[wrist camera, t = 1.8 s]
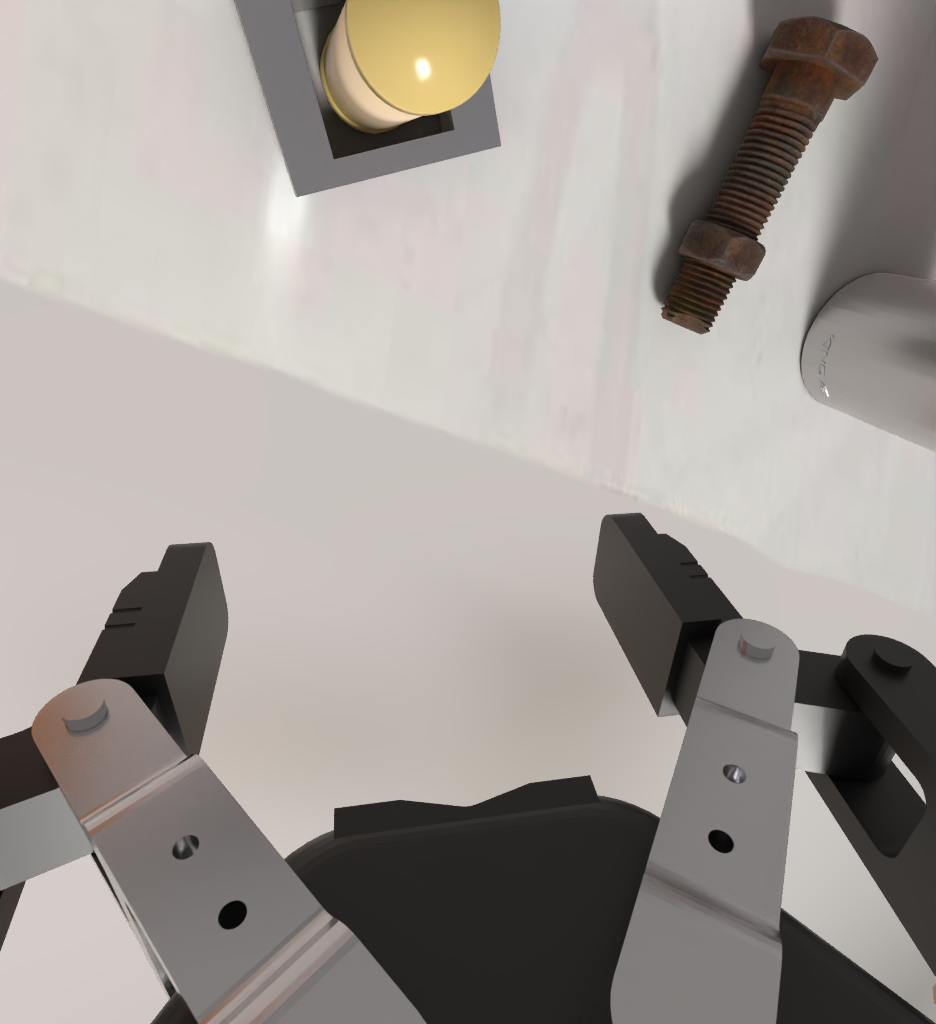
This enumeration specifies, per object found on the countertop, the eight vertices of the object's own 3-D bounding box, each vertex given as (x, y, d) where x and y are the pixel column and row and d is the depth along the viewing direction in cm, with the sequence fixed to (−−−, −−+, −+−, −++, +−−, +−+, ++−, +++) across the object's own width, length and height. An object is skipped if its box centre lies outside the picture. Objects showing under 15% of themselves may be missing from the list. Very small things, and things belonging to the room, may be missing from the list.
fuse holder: (452, -54, 29) (466, -72, 26) (486, 147, 33) (500, 145, 31) (231, -8, 27) (227, -23, 25) (295, 195, 31) (296, 197, 29)
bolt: (642, 308, 41) (767, 44, 35) (715, 339, 41) (854, 76, 35) (644, 311, 36) (792, 0, 30) (728, 346, 35) (895, 38, 30)
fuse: (404, 6, 29) (484, -95, 18) (428, 121, 32) (512, 95, 20) (306, 27, 29) (327, -63, 18) (337, 143, 31) (374, 128, 20)
